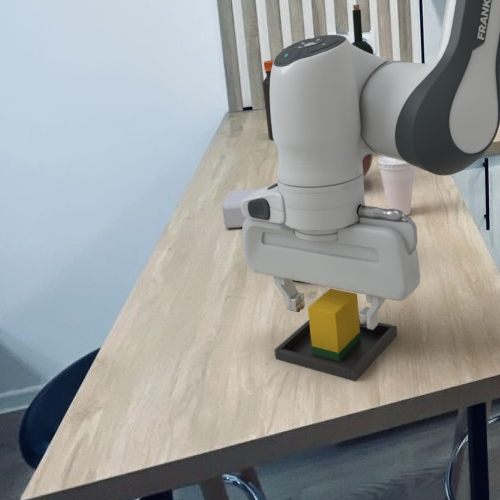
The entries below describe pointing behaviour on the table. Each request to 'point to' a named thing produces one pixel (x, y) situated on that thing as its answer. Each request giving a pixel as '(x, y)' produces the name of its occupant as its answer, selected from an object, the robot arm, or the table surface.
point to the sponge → (334, 324)
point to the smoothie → (397, 183)
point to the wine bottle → (359, 31)
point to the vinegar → (268, 95)
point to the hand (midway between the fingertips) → (331, 317)
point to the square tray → (351, 364)
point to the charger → (235, 207)
